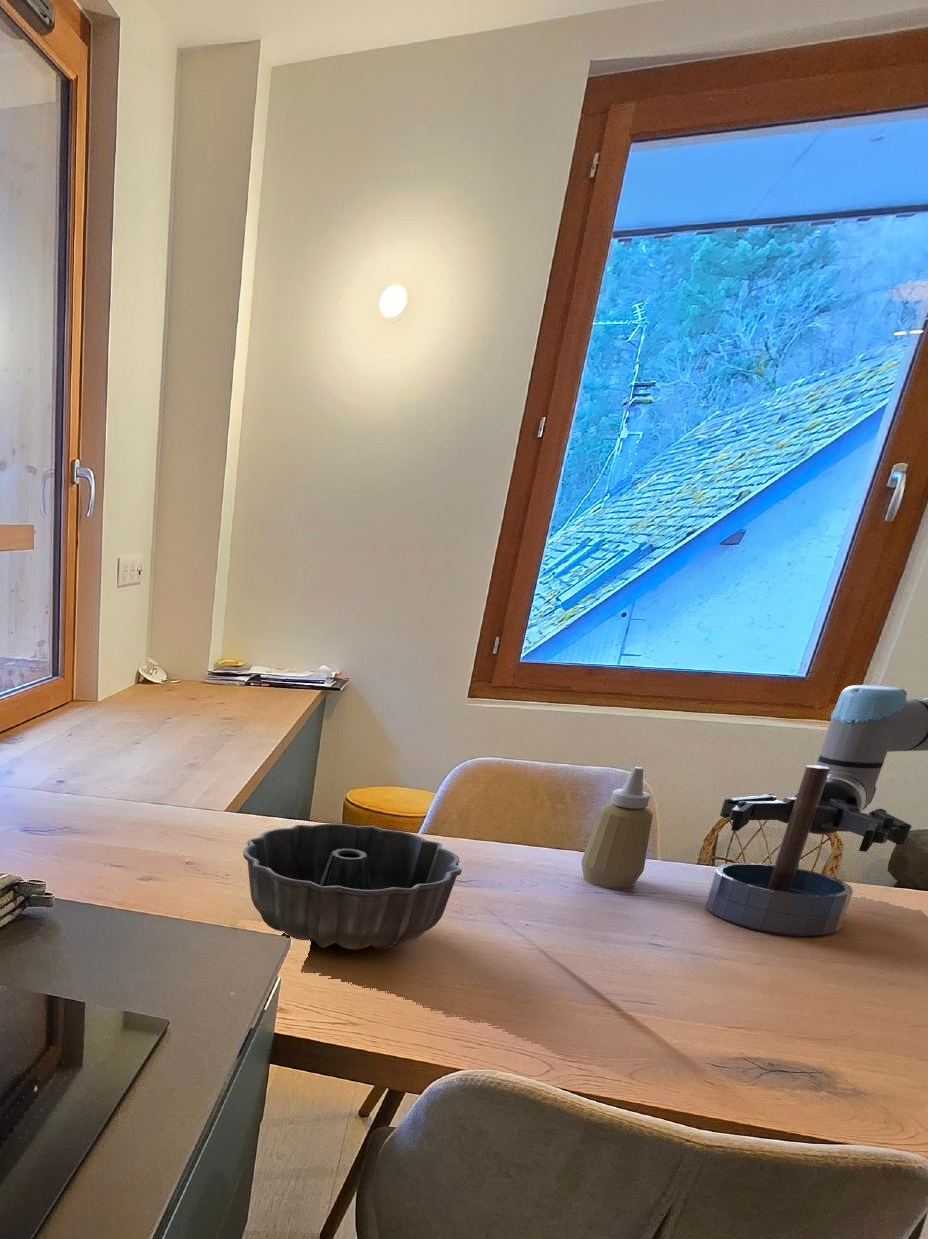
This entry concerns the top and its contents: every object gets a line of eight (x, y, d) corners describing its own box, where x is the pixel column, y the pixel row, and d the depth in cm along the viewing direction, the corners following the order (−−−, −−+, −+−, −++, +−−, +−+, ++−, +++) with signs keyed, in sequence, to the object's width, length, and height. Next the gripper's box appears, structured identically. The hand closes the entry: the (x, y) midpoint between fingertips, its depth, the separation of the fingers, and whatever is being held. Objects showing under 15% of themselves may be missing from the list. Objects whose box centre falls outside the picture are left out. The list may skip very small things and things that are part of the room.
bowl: (866, 940, 122) (882, 896, 120) (754, 941, 122) (768, 896, 120) (781, 903, 136) (794, 862, 133) (679, 903, 135) (691, 862, 133)
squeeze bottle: (578, 893, 139) (609, 772, 132) (572, 875, 146) (602, 758, 138) (642, 900, 137) (677, 777, 129) (633, 881, 143) (666, 763, 136)
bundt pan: (195, 918, 128) (200, 847, 124) (321, 874, 142) (329, 809, 138) (362, 989, 109) (375, 908, 105) (488, 931, 123) (504, 857, 119)
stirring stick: (802, 921, 126) (853, 771, 119) (765, 921, 126) (814, 770, 118) (774, 909, 131) (822, 763, 123) (738, 909, 131) (784, 763, 123)
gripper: (932, 847, 131) (914, 879, 117) (718, 814, 147) (681, 839, 134) (953, 793, 128) (937, 819, 114) (732, 765, 144) (696, 786, 131)
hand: (799, 830), depth 124 cm, fingers open, 13 cm apart
